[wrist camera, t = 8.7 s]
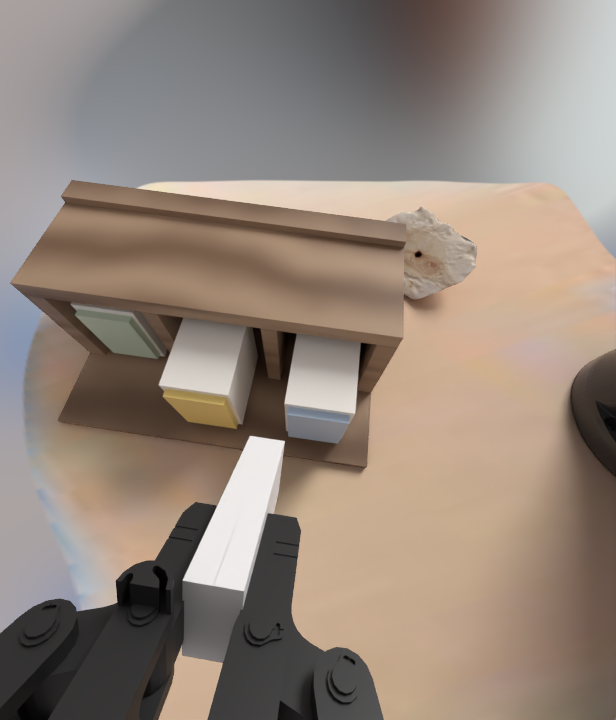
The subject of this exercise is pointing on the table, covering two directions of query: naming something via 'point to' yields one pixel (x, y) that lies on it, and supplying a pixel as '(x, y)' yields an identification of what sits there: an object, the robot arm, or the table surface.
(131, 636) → the robot arm
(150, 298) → the brown boxy piece
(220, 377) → the mustard key
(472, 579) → the table surface
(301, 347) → the white and blue block
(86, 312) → the sage key
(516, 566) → the table surface
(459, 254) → the rock
